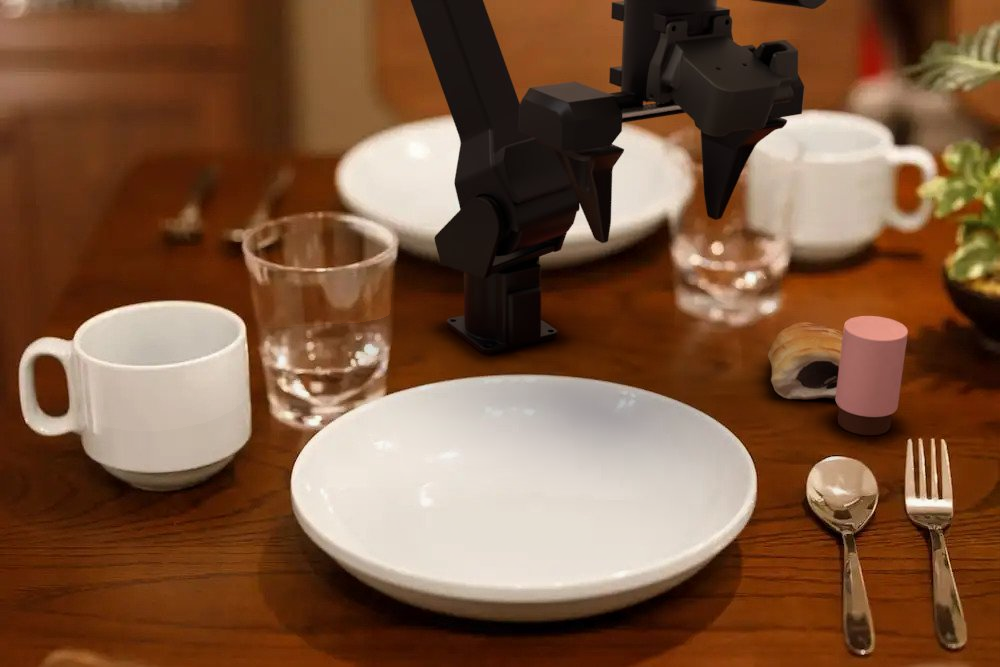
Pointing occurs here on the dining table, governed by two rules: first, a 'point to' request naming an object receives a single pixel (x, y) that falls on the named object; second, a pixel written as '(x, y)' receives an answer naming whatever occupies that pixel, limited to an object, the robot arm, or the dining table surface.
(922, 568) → the dining table surface
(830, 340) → the pastry
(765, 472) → the dining table surface
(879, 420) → the bottle
